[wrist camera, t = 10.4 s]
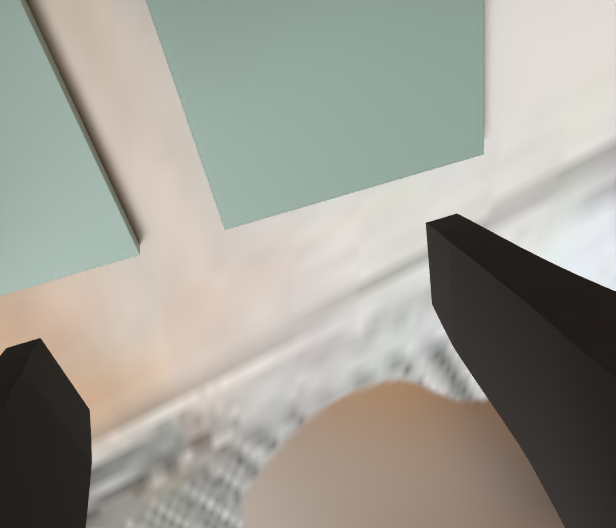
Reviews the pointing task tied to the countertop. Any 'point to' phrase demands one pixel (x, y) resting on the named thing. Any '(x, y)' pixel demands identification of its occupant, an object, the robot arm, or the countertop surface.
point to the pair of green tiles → (242, 116)
